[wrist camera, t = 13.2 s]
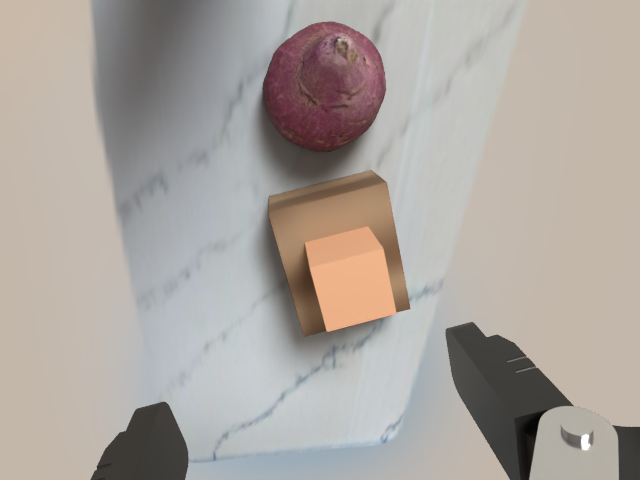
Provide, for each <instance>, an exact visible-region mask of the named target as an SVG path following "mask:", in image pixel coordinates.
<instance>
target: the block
mask: <svg viewBox="0 0 640 480" xmlns="http://www.w3.org/2000/svg"><path fill="white" fill-rule="evenodd" d="M305 246H306V251H307V257H308V262H309V267H310V271H311V275H312V278H313V282H314V286H315V290H316V293H317V297H318V301H319V304H320V308H321V312H322V315H323V319H324V323H325V327H326V330H327V332H329V331H333V330H337V329H341V328H344V327H348V326H352V325H356V324H360V323H363V322H367V321H371V320H375V319H379V318H383V317H386V316H390V315H394V314H397V313H396V308H395V303H394V298H393V293H392V288H391V284H390V279H389V274H388V269H387V264H386V259H385V254H384V249H383V247H382V246H381V244H380V243H379V241H378V240H377V238H376V237H375V236H374V234H373V233H372V231H371V230H370V228H369V227H368V226H367V227H363V228H360V229H356V230H352V231H348V232H344V233H340V234H336V235H332V236H329V237H325V238H321V239H317V240H313V241H309V242H305Z"/></svg>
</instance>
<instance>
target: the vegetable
mask: <svg viewBox="0 0 640 480" xmlns="http://www.w3.org/2000/svg"><path fill="white" fill-rule="evenodd" d="M385 92H386V80H385V72H384V67H383V62H382V59H381V56H380V54H379V52H378V50H377V49H376V47H375V46H374V44H373V43H372V42H371V41H370V40H369V39H368V38H367V37H365V36H364V35H363V34H361V33H359V32H357V31H355V30H354V29H352V28H350V27H348V26H346V25H343V24H340V23H336V22H321V23H315V24H311V25H310V26H308V27H306V28H304V29H302V30H300V31H299V32H297V33H296V34H294V35H293V36H292V37H291V38H289V39H287V40H286V41H285V42H284V43H283V44H281V45H280V46H279V48H278V49H277V50H276V51H275V53H274V54H273V57H272V61H271V63H270V65H269V68H268V71H267V74H266V77H265V79H264V83H263V99H264V104H265V107H266V110H267V113H268V115H269V118H270V120H271V121H272V123H273V124H274V126H275V127H276V129H277V130H278V131H279V132H280V133H281V134H282V136H283V137H285V138H286V139H287V140H289V141H291V142H293V143H295V144H297V145H299V146H301V147H304V148H306V149H309V150H313V151H317V152H329V151H333V150H336V149H338V148H340V147H341V146H343V145H345V144H347V143H349V142H351V141H353V140H355V139H356V138H358V137H359V136H360V135H362V134H363V133H364V132H365V131H366V130H368V128H369V127H370V126H371V124H372V123H373V121H374V120H375V118H376V116H377V114H378V111H379V109H380V106H381V104H382V102H383V99H384V96H385Z"/></svg>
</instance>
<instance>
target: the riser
mask: <svg viewBox="0 0 640 480" xmlns="http://www.w3.org/2000/svg"><path fill="white" fill-rule="evenodd" d="M268 214H269V218H270V221H271V225H272V228H273V232H274V235H275V239H276V242H277V245H278V249H279V252H280V256H281V259H282V263H283V266H284V270H285V273H286V276H287V280H288V283H289V287H290V290H291V294H292V297H293V301H294V304H295V307H296V311H297V314H298V318H299V321H300V325H301V328H302V331H303V335H304V336H308V335H312V334H316V333H320V332H324V331H327V330H326V327H325V323H324V319H323V315H322V312H321V308H320V304H319V301H318V297H317V293H316V290H315V286H314V282H313V278H312V275H311V271H310V267H309V262H308V257H307V251H306V246H305V242H309V241H313V240H317V239H321V238H325V237H329V236H332V235H336V234H340V233H344V232H348V231H352V230H356V229H360V228H363V227H367V226H368V227H369V228H370V230H371V231H372V233H373V234H374V236H375V237H376V238H377V240H378V241H379V243H380V244H381V246H382V247H383V249H384V254H385V259H386V264H387V269H388V274H389V279H390V284H391V288H392V293H393V298H394V303H395V308H396V312H400V311H404V310H408V309H410V304H409V299H408V293H407V288H406V283H405V277H404V272H403V266H402V261H401V256H400V250H399V245H398V240H397V234H396V229H395V224H394V218H393V213H392V207H391V202H390V197H389V191H388V186H387V182H385V181H384V180H383V179H382V178H381V177H379V176H378V175H377V174H376V173H374V172H373V171H372V170H370V171H366V172H362V173H358V174H354V175H350V176H347V177H343V178H339V179H335V180H331V181H327V182H323V183H319V184H315V185H311V186H307V187H304V188H300V189H296V190H292V191H288V192H284V193H280V194H276V195H272V196H269V207H268Z"/></svg>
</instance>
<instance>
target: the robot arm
mask: <svg viewBox="0 0 640 480" xmlns="http://www.w3.org/2000/svg"><path fill="white" fill-rule="evenodd" d="M446 340H447V346H448V352H449V359H450V366H451V372H452V377H453V380H454V384H455V386H456V389H457V391H458V393H459V395H460V397H461V399H462V401H463V402H464V404H465V405H466V407H467V409H468V410H469V412H470V414H471V415H472V417H473V419H474V420H475V422H476V424H477V425H478V427H479V429H480V430H481V432H482V434H483V435H484V437H485V439H486V440H487V442H488V443H489V445H490V447H491V448H492V450H493V452H494V453H495V455H496V457H497V459H498V460H499V462H500V463H501V465H502V467H503V468H504V470H505V472H506V473H507V475H508V477H509V478H510V480H640V427H621V426H614V425H611V423H610V422H609V421H607V420H606V419H605V418H604V417H602V416H601V415H599V414H597V413H595V412H593V411H591V410H588V409H585V408H581V407H575V406H573V405H572V404H571V402H570V401H569V400H568V399H567V398H566V397H565V396H564V395H563V394H562V393H561V392H560V391H559V390H558V389H557V388H556V387H555V385H554V384H552V382H551V381H550V380H549V379H548V378H547V377H546V376H545V375H544V374H543V373H542V372H541V371H540V370H539V369H538V368H536V366H535V364H533V362H532V361H531V360H530V359H529V358H527V357H526V355H525V354H524V353H523V352H522V351H521V350H520V349H519V347H517V346H516V344H515V343H513V342H511V341H509V340H507V339H505V338H503V337H501V336H499V335H494V336H490V337H486V336H485V335H484V334H483V333H482V332H481V330H480V329H479V328H478V327H477V326H476V325H475V324H474V323H473V322H470V323H466V324H462V325H459V326H455V327H451V328H447V329H446ZM187 468H188V450H187V446H186V443H185V440H184V438H183V436H182V433H181V431H180V429H179V427H178V424H177V422H176V420H175V418H174V415H173V413H172V411H171V409H170V407H169V405H168V404H167V403H166V402H161V403H157V404H153V405H149V406H146V407H142V408H138V409H136V410H135V412H134V414H133V416H132V418H131V420H130V423H129V425H128V428H127V430H126V431H124V432H120V433H119V434H118V436H116V438H115V439H114V440H113V441H112V442H111V443H110V445H109V446H108V447H107V448H106V449H105V451H104V453H103V455H102V457H101V459H100V461H99V463H98V465H97V470H96V471H95V472H94V474H93V476H92V478H91V480H185V477H186V472H187Z"/></svg>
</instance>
